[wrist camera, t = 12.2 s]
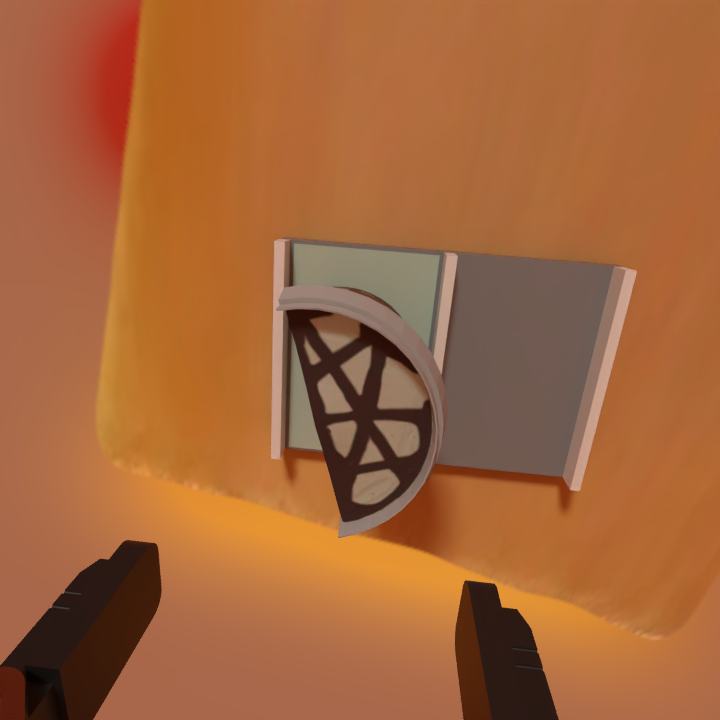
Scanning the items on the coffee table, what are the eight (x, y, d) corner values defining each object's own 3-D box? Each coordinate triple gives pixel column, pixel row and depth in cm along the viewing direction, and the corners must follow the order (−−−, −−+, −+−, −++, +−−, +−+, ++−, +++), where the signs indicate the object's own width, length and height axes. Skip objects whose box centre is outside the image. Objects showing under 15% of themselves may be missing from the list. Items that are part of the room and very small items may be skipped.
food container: (449, 430, 31) (470, 531, 22) (357, 445, 32) (340, 547, 23) (416, 242, 28) (425, 265, 18) (314, 263, 29) (272, 296, 19)
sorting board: (617, 264, 28) (637, 271, 26) (566, 470, 33) (579, 491, 30) (284, 237, 29) (274, 241, 27) (279, 440, 34) (271, 458, 31)
